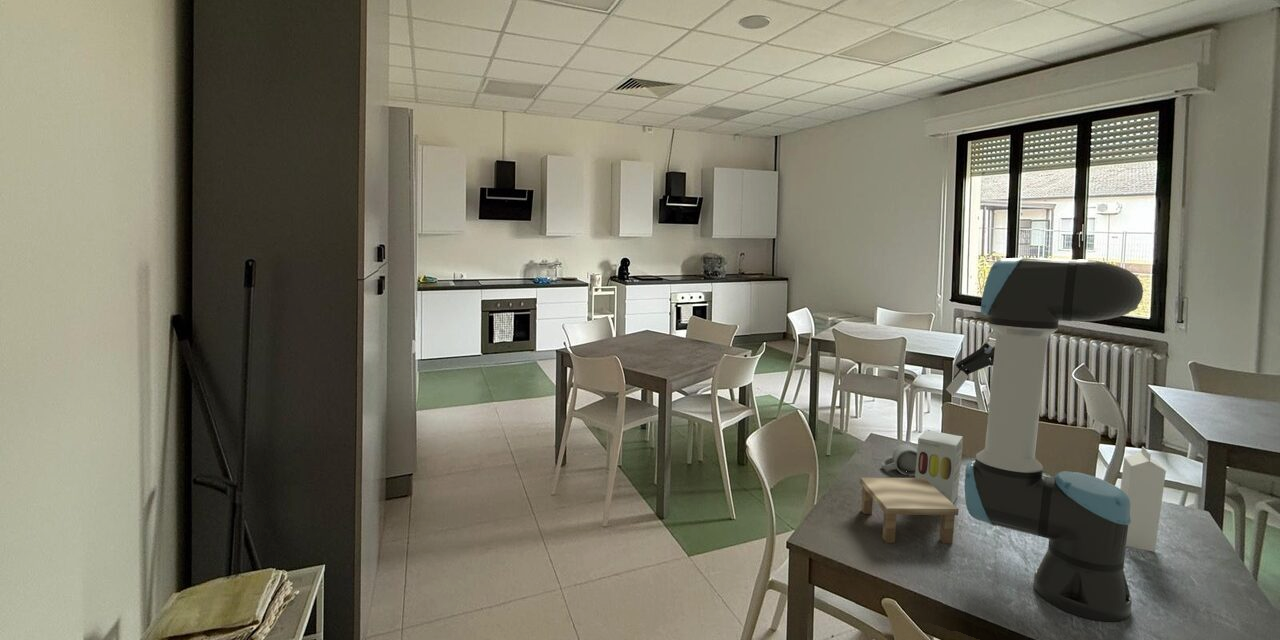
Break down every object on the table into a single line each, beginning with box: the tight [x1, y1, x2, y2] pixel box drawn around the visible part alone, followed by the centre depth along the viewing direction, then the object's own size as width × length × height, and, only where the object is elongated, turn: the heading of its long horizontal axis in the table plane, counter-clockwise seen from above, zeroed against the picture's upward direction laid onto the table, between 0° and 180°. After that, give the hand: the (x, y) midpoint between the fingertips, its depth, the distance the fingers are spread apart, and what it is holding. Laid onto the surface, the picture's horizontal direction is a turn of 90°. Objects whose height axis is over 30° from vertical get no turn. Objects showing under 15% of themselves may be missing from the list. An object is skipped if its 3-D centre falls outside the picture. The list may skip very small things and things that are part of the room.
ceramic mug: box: [881, 443, 917, 477], centre depth 177 cm, size 11×8×8 cm
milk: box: [1119, 446, 1167, 553], centre depth 134 cm, size 6×6×22 cm
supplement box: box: [914, 429, 964, 504], centre depth 158 cm, size 10×9×17 cm
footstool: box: [859, 477, 960, 544], centre depth 143 cm, size 17×16×8 cm
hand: (969, 400), depth 155 cm, fingers open, 13 cm apart
